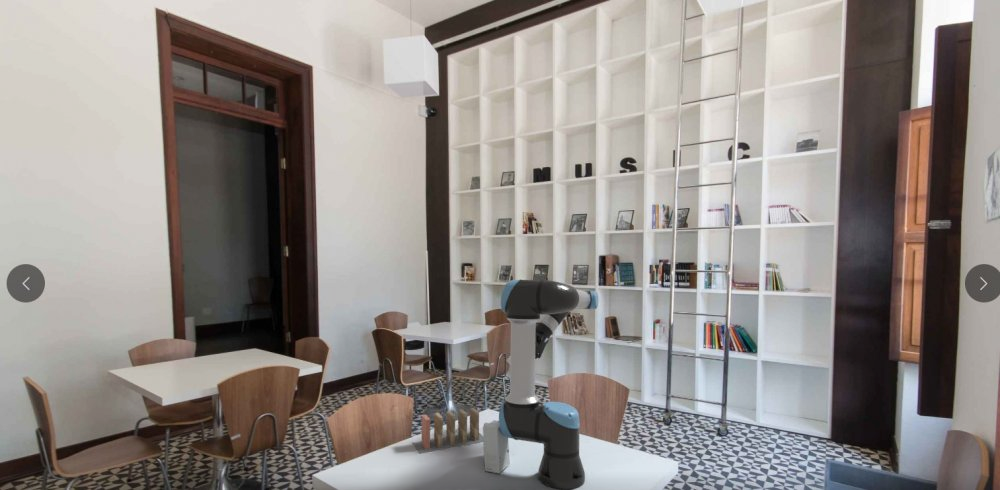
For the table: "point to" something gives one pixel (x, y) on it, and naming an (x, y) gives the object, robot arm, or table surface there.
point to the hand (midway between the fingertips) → (515, 365)
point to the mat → (446, 444)
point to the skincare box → (495, 448)
